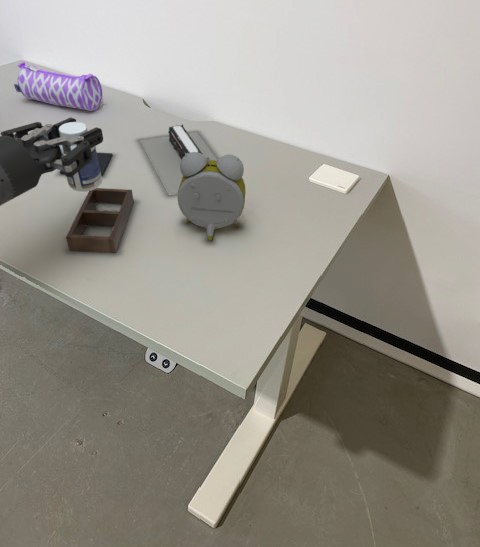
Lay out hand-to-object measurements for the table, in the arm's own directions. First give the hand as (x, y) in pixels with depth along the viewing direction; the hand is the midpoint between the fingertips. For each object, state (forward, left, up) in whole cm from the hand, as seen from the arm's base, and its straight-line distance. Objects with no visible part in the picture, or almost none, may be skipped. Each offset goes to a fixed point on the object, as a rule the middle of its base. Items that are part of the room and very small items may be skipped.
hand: (87, 128), depth 65 cm
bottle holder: (-1, 0, -19) cm, 19 cm away
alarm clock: (+19, 0, -19) cm, 27 cm away
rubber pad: (-10, +21, -19) cm, 29 cm away
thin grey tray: (+11, +25, -19) cm, 33 cm away
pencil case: (-25, +52, -19) cm, 60 cm away
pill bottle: (-1, -2, -9) cm, 9 cm away
